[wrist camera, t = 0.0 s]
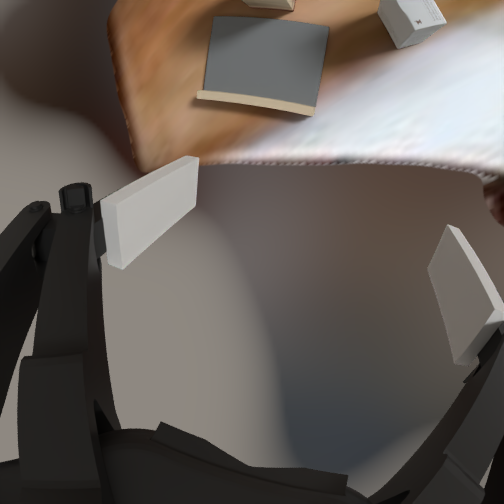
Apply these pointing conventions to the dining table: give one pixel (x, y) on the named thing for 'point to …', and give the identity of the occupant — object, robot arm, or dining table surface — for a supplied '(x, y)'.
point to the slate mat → (265, 63)
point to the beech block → (271, 4)
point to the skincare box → (410, 20)
